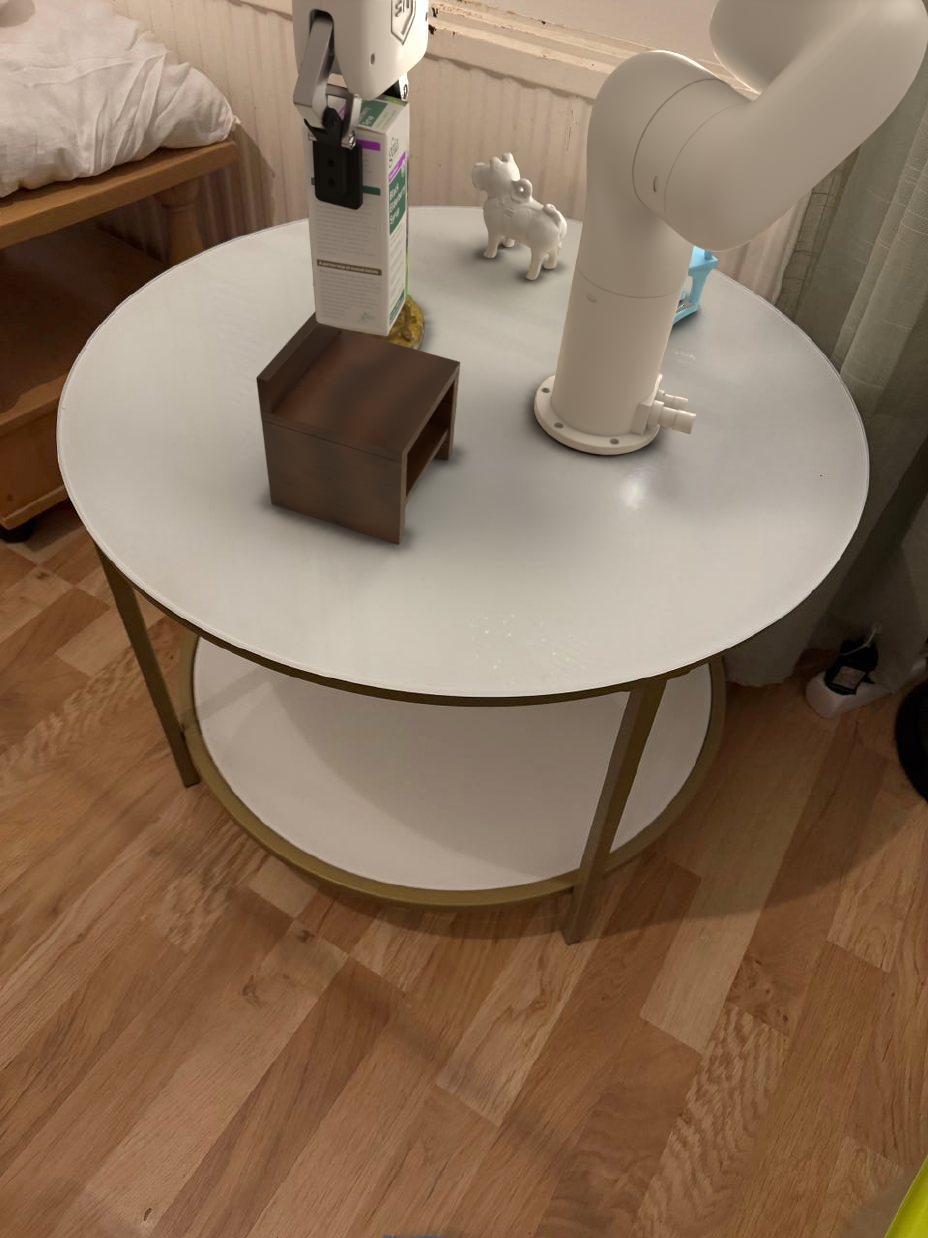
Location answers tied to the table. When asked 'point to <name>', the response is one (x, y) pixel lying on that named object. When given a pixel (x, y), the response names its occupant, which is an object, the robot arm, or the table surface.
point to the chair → (697, 278)
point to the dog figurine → (517, 214)
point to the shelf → (354, 425)
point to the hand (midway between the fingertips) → (361, 179)
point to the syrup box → (364, 226)
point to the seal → (405, 326)
